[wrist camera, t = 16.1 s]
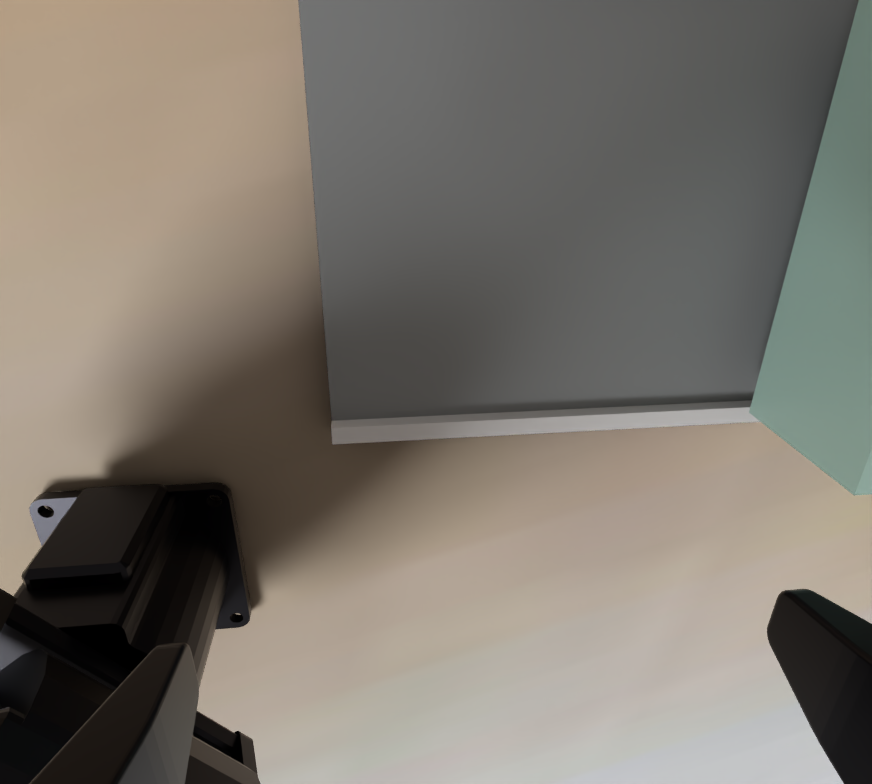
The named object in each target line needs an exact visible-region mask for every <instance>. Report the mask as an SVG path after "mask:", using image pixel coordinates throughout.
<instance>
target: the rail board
mask: <svg viewBox="0 0 872 784" xmlns="http://www.w3.org/2000/svg"><path fill="white" fill-rule="evenodd" d="M858 1H859V0H298V2H299V14H300V27H301V40H302V52H303V65H304V77H305V90H306V103H307V115H308V128H309V141H310V153H311V166H312V179H313V191H314V204H315V216H316V229H317V242H318V254H319V267H320V280H321V292H322V305H323V318H324V330H325V343H326V355H327V368H328V381H329V393H330V406H331V419H332V423H331V434H332V444H334V445H335V444H354V443H373V442H392V441H411V440H430V439H449V438H467V437H486V436H505V435H524V434H543V433H562V432H581V431H599V430H618V429H637V428H656V427H675V426H694V425H713V424H731V423H750V422H760V421H759V420H758V419H756V418H755V417H754V416H753V415H751V414H750V413H749V410H750V407H751V403H752V399H753V395H754V392H755V388H756V384H757V380H758V377H759V373H760V369H761V365H762V362H763V358H764V354H765V350H766V347H767V343H768V339H769V335H770V332H771V328H772V324H773V320H774V317H775V313H776V309H777V305H778V302H779V298H780V294H781V290H782V286H783V283H784V279H785V275H786V271H787V268H788V264H789V260H790V256H791V253H792V249H793V245H794V241H795V238H796V234H797V230H798V226H799V223H800V219H801V215H802V211H803V208H804V204H805V200H806V196H807V193H808V189H809V185H810V181H811V178H812V174H813V170H814V166H815V163H816V159H817V155H818V151H819V148H820V144H821V140H822V136H823V132H824V129H825V125H826V121H827V117H828V114H829V110H830V106H831V102H832V99H833V95H834V91H835V87H836V84H837V80H838V76H839V72H840V69H841V65H842V61H843V57H844V54H845V50H846V46H847V42H848V39H849V35H850V31H851V27H852V24H853V20H854V16H855V12H856V9H857V5H858Z"/></svg>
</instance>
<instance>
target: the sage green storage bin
mask: <svg viewBox="0 0 872 784" xmlns="http://www.w3.org/2000/svg"><path fill="white" fill-rule="evenodd" d="M749 413H750V414H751V415H753V416H754V417H755V418H756V419H758V420H759V421H760V422H762V423H763V424H764V425H765V426H767V427H768V428H769V429H770V430H772V431H773V432H774V433H776V434H777V435H778V436H779V437H781V438H782V439H783V440H784V441H786V442H787V443H788V444H790V445H791V446H792V447H793V448H795V449H796V450H797V451H798V452H800V453H801V454H802V455H804V456H805V457H806V458H807V459H809V460H810V461H811V462H812V463H814V464H815V465H816V466H817V467H819V468H820V469H821V470H823V471H824V472H825V473H826V474H828V475H829V476H830V477H831V478H833V479H834V480H835V481H837V482H838V483H839V484H840V485H842V486H843V487H844V488H845V489H847V490H848V491H849V492H851V493H852V494H853V495H867V494H872V0H859V1H858V5H857V9H856V12H855V16H854V20H853V24H852V27H851V31H850V35H849V39H848V42H847V46H846V50H845V54H844V57H843V61H842V65H841V69H840V72H839V76H838V80H837V84H836V87H835V91H834V95H833V99H832V102H831V106H830V110H829V114H828V117H827V121H826V125H825V129H824V132H823V136H822V140H821V144H820V148H819V151H818V155H817V159H816V163H815V166H814V170H813V174H812V178H811V181H810V185H809V189H808V193H807V196H806V200H805V204H804V208H803V211H802V215H801V219H800V223H799V226H798V230H797V234H796V238H795V241H794V245H793V249H792V253H791V256H790V260H789V264H788V268H787V271H786V275H785V279H784V283H783V286H782V290H781V294H780V298H779V302H778V305H777V309H776V313H775V317H774V320H773V324H772V328H771V332H770V335H769V339H768V343H767V347H766V350H765V354H764V358H763V362H762V365H761V369H760V373H759V377H758V380H757V384H756V388H755V392H754V395H753V399H752V403H751V407H750V410H749Z"/></svg>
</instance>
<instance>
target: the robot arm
mask: <svg viewBox="0 0 872 784" xmlns="http://www.w3.org/2000/svg"><path fill="white" fill-rule="evenodd" d="M212 495H216V496H219V497H220V498H221V499H222V500H213V499H212V498H211V497H210V496H212ZM44 505H45V506H49V507H51V508H52V509H53V511H52V510H48V509H46V508H45V507H44ZM30 514H31V517H32V520H33V523H34V525H35V528H36V531H37V534H38V537H39V539H40V542H41V545H42V547H41V548H40V550H39V551H38V552H37V554H36V555H35V556H34V558H33V559H32V561H31V562H30V563H29V565H28V566H27V568H26V569H25V570H24V572H23V574H22V579H23V583H22V585H21V586H20V587H19V589H18V590H17V592H16V593H15V595H14V596H12V595H10V594H9V593H7V592H5V591H4V590H2V589H0V784H260V781H259V779H258V775H257V768H256V761H255V753H254V746H253V740H252V739H251V738H249V737H248V736H246V735H244V734H243V733H241V732H239V731H236V732H232V731H230V730H228V729H227V728H225V727H223V726H222V725H220V724H218V723H217V722H215V721H213V720H212V719H210V718H208V717H207V716H205V715H203V714H202V713H200V712H198V711H196V710H197V704H198V696H199V686H200V683H201V679H202V675H203V672H204V668H205V665H206V661H207V657H208V654H209V650H210V646H211V643H212V639H213V636H214V632H215V629H224V628H236V627H242V626H244V625H246V624H247V623H248V622H249V620H250V615H251V603H250V598H249V592H248V586H247V580H246V574H245V569H244V563H243V557H242V551H241V545H240V540H239V534H238V528H237V522H236V517H235V511H234V505H233V499H232V494H231V491H230V489H229V488H228V487H227V486H226V485H223V484H221V483H200V484H183V485H166V486H163V485H160V484H150V485H133V486H115V487H98V488H86V489H84V490H80V491H63V492H47V493H43V494H40V495H39V496H38V497H37V498H36V499H35V500H34V501H33V503H32V504H31V506H30ZM234 613H240V614H241V615H236V614H234ZM767 635H768V640H769V643H770V646H771V648H772V650H773V652H774V654H775V656H776V658H777V660H778V662H779V664H780V666H781V668H782V670H783V672H784V674H785V676H786V678H787V680H788V682H789V684H790V686H791V688H792V690H793V692H794V694H795V696H796V698H797V700H798V702H799V704H800V706H801V708H802V710H803V712H804V714H805V716H806V718H807V720H808V722H809V724H810V726H811V728H812V730H813V732H814V734H815V735H816V737H817V739H818V741H819V743H820V745H821V746H822V748H823V750H824V751H825V753H826V755H827V757H828V758H829V760H830V762H831V763H832V765H833V766H834V768H835V770H836V771H837V773H838V775H839V776H840V778H841V780H842V781H843V783H844V784H872V624H871V623H869V622H867V621H866V620H864V619H862V618H860V617H858V616H857V615H855V614H853V613H851V612H849V611H848V610H846V609H844V608H842V607H840V606H839V605H837V604H835V603H833V602H831V601H830V600H828V599H826V598H824V597H822V596H821V595H819V594H817V593H815V592H813V591H811V590H808V589H797V590H785V591H782V592H781V593H780V594H779V596H778V598H777V600H776V603H775V606H774V609H773V612H772V615H771V618H770V621H769V624H768V627H767Z"/></svg>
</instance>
